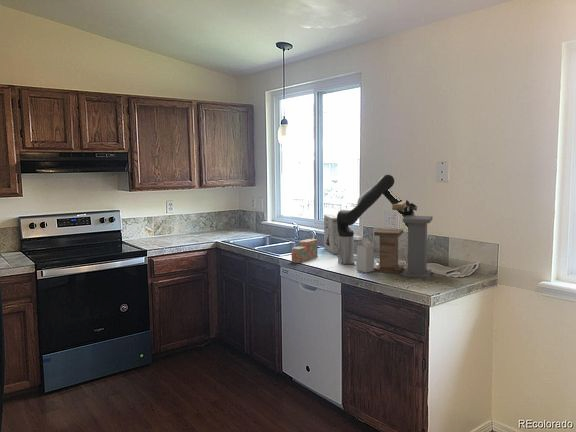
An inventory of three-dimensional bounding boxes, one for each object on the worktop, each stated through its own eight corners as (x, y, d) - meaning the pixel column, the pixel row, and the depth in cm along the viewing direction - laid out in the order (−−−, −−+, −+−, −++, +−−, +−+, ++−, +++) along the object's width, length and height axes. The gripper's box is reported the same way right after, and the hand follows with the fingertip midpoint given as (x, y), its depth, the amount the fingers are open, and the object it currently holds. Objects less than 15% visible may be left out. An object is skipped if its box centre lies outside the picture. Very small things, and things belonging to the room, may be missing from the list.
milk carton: (356, 270, 270) (356, 238, 267) (364, 268, 274) (364, 237, 272) (366, 272, 264) (366, 240, 262) (374, 270, 269) (374, 238, 266)
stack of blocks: (299, 263, 293) (299, 244, 291) (291, 262, 296) (291, 243, 295) (317, 257, 310) (317, 239, 308) (310, 256, 313) (309, 238, 312)
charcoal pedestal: (428, 278, 249) (429, 219, 245) (402, 276, 255) (402, 218, 251) (431, 272, 262) (432, 216, 258) (406, 270, 268) (406, 215, 264)
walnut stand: (398, 273, 262) (398, 233, 259) (374, 271, 267) (374, 232, 264) (403, 267, 274) (403, 229, 271) (379, 266, 280) (379, 228, 277)
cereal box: (324, 248, 338) (323, 214, 335) (334, 247, 340) (333, 214, 336) (332, 254, 317) (332, 218, 314) (343, 253, 318) (342, 217, 315)
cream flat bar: (403, 210, 258) (403, 204, 257) (392, 209, 260) (392, 204, 260) (410, 205, 278) (410, 200, 278) (400, 205, 281) (400, 200, 281)
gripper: (397, 207, 294) (392, 195, 279) (419, 207, 288) (416, 196, 273) (395, 218, 291) (391, 207, 276) (418, 219, 285) (415, 207, 271)
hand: (403, 201), depth 275 cm, fingers closed on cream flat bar, 3 cm apart
